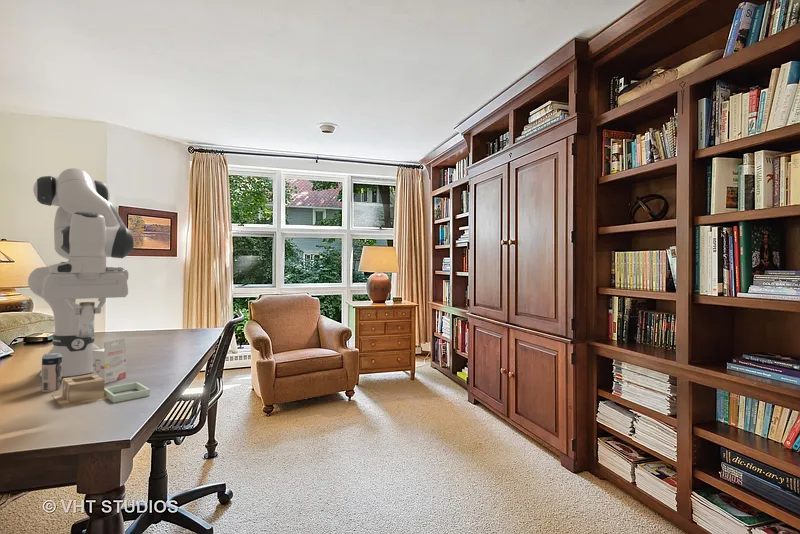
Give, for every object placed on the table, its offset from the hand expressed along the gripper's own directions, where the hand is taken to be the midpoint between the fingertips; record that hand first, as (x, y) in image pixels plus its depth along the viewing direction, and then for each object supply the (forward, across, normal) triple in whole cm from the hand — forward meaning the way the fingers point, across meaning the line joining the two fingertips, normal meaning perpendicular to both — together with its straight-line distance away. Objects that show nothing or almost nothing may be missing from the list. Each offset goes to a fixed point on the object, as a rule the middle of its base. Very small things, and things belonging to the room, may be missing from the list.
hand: (86, 314), depth 122 cm
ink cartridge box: (+25, -10, -16) cm, 31 cm away
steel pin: (+7, 0, 0) cm, 7 cm away
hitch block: (+25, 0, 0) cm, 25 cm away
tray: (+25, -9, +6) cm, 27 cm away
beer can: (+25, +6, -16) cm, 30 cm away
